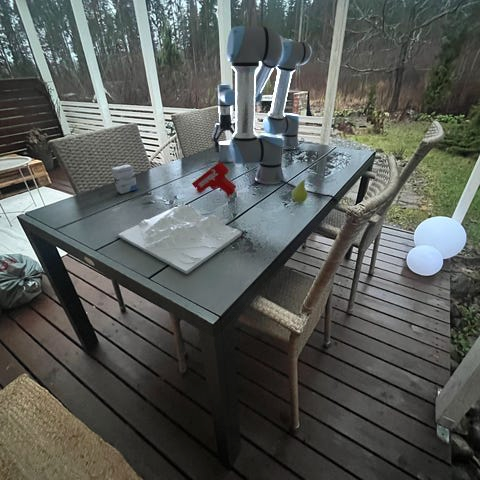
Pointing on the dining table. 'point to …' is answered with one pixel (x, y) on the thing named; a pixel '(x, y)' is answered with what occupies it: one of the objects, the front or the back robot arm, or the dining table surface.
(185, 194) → the dining table surface
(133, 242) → the relief map
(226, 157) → the can
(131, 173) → the ink box
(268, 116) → the back robot arm
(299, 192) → the fruit
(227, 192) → the toy gun
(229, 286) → the dining table surface
